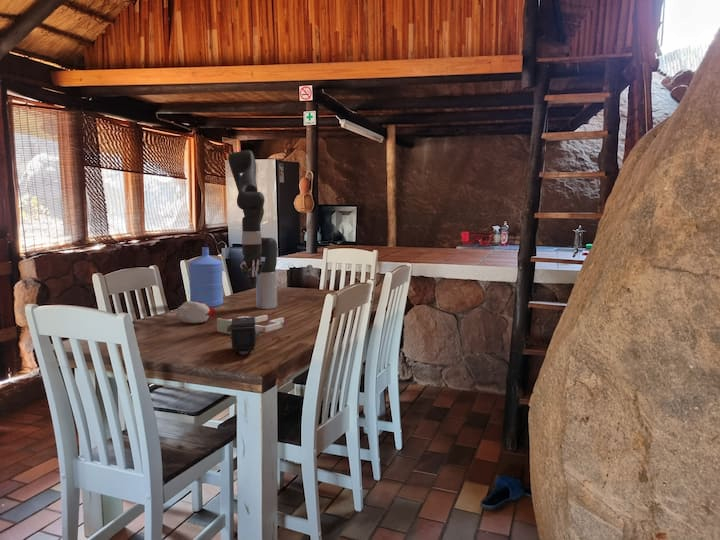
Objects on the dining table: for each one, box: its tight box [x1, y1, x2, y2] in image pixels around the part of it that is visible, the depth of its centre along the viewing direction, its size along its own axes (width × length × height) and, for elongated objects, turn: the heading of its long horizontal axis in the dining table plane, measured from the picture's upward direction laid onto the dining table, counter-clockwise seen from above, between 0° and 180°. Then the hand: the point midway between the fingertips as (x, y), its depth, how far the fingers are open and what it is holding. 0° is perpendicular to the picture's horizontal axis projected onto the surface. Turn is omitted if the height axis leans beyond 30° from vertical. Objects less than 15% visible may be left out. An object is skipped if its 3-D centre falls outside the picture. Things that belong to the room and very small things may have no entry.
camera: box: [227, 316, 261, 355], centre depth 181 cm, size 11×11×15 cm
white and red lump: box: [175, 300, 216, 324], centre depth 226 cm, size 9×11×15 cm
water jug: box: [188, 246, 224, 308], centre depth 263 cm, size 16×16×28 cm
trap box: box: [216, 314, 285, 335], centre depth 218 cm, size 27×22×5 cm
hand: (252, 285), depth 217 cm, fingers closed
